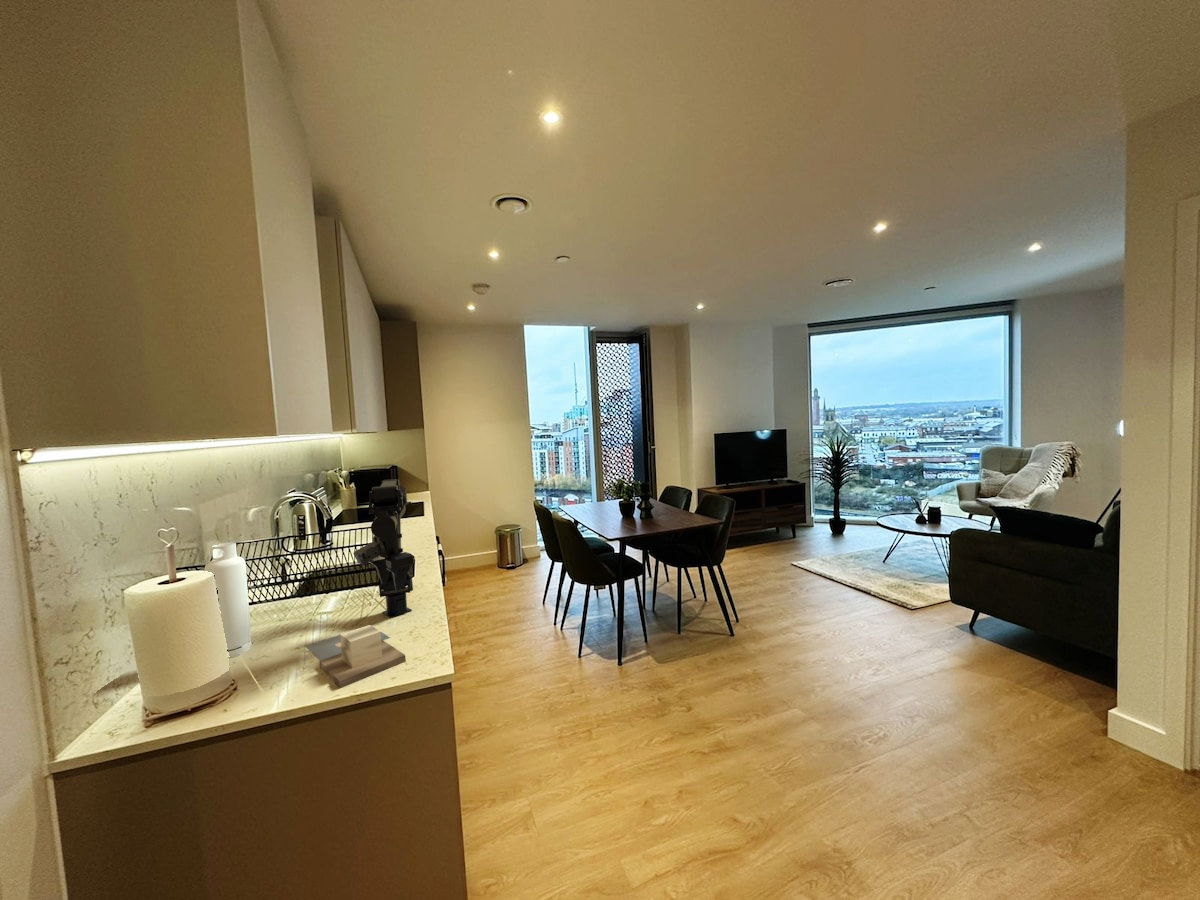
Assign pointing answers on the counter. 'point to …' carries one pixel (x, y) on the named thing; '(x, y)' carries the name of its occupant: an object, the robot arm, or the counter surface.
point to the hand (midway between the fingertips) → (391, 587)
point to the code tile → (330, 647)
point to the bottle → (232, 596)
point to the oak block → (361, 646)
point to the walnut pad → (348, 675)
